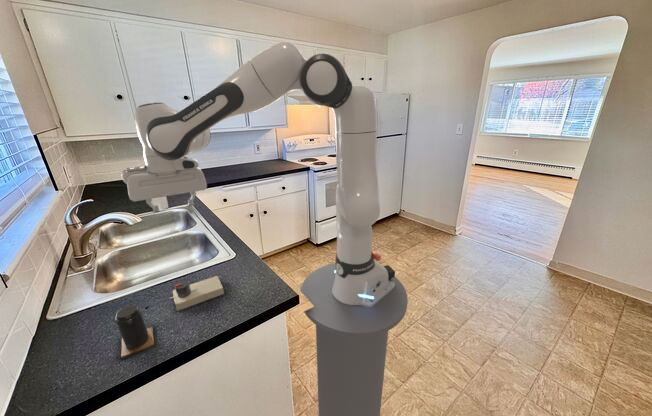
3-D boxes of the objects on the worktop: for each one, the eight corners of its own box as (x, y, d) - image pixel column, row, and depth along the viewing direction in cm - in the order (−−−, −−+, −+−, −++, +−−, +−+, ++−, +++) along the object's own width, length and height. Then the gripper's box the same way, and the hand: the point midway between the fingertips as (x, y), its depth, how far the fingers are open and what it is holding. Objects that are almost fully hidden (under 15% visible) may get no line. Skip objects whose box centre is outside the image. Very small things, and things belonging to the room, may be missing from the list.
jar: (148, 329, 74) (139, 300, 70) (149, 342, 70) (139, 312, 66) (125, 338, 71) (114, 309, 67) (125, 352, 67) (113, 321, 63)
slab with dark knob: (218, 281, 95) (216, 275, 94) (224, 294, 88) (223, 287, 87) (170, 297, 87) (168, 291, 86) (173, 312, 81) (171, 305, 80)
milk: (161, 211, 159) (152, 174, 150) (152, 210, 159) (143, 174, 151) (169, 207, 164) (160, 172, 156) (160, 206, 165) (151, 171, 157)
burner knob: (190, 287, 88) (188, 278, 86) (191, 294, 84) (189, 284, 83) (176, 292, 86) (174, 282, 84) (177, 299, 82) (175, 289, 81)
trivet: (152, 328, 75) (152, 326, 75) (154, 345, 70) (153, 343, 70) (122, 339, 72) (121, 338, 71) (121, 358, 66) (120, 357, 66)
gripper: (118, 170, 69) (133, 220, 74) (203, 161, 79) (211, 204, 84) (119, 166, 74) (133, 212, 79) (199, 158, 84) (207, 199, 89)
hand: (174, 208), depth 82 cm, fingers open, 8 cm apart
